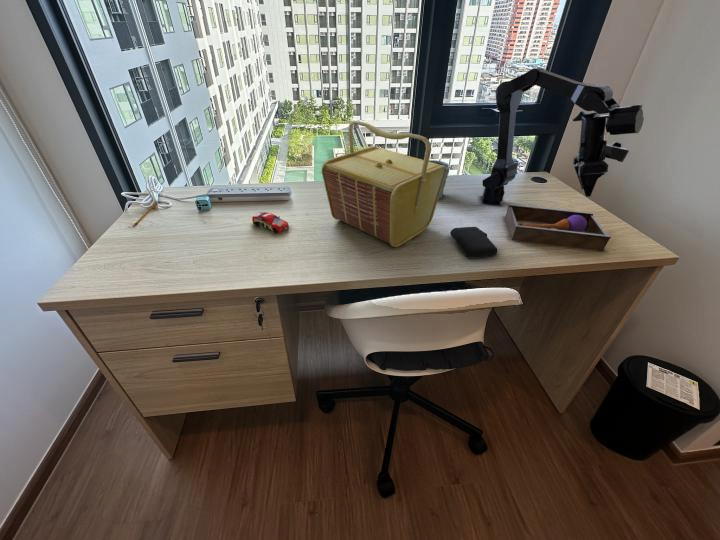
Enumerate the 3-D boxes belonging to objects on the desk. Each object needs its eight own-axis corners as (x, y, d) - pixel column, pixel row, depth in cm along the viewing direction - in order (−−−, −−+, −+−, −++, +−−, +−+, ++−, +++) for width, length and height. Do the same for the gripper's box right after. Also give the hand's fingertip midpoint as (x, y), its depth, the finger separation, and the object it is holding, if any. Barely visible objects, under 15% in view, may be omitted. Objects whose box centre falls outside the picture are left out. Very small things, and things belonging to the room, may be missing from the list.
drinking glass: (412, 192, 129) (416, 162, 122) (433, 188, 133) (438, 158, 126) (428, 202, 122) (433, 171, 115) (450, 197, 126) (456, 166, 119)
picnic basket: (440, 226, 108) (458, 129, 90) (391, 258, 92) (400, 149, 74) (373, 199, 123) (377, 112, 106) (321, 223, 108) (315, 125, 90)
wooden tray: (511, 240, 101) (516, 226, 98) (504, 217, 114) (508, 203, 111) (603, 251, 97) (611, 237, 94) (586, 226, 109) (592, 212, 106)
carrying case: (502, 258, 93) (479, 232, 105) (505, 249, 91) (481, 223, 103) (466, 261, 92) (447, 234, 103) (469, 252, 90) (449, 225, 102)
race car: (292, 229, 105) (291, 218, 102) (280, 236, 101) (279, 225, 99) (263, 218, 110) (261, 207, 108) (250, 224, 107) (248, 213, 104)
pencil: (135, 227, 104) (134, 225, 104) (132, 228, 104) (131, 225, 104) (159, 202, 119) (158, 199, 119) (157, 202, 119) (156, 200, 119)
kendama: (518, 216, 105) (580, 211, 105) (515, 234, 108) (576, 229, 108) (527, 222, 100) (593, 217, 100) (524, 241, 102) (588, 235, 103)
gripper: (637, 135, 80) (627, 199, 87) (621, 129, 95) (613, 183, 102) (582, 142, 85) (577, 201, 92) (575, 135, 100) (570, 186, 107)
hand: (586, 192), depth 98 cm, fingers open, 9 cm apart
